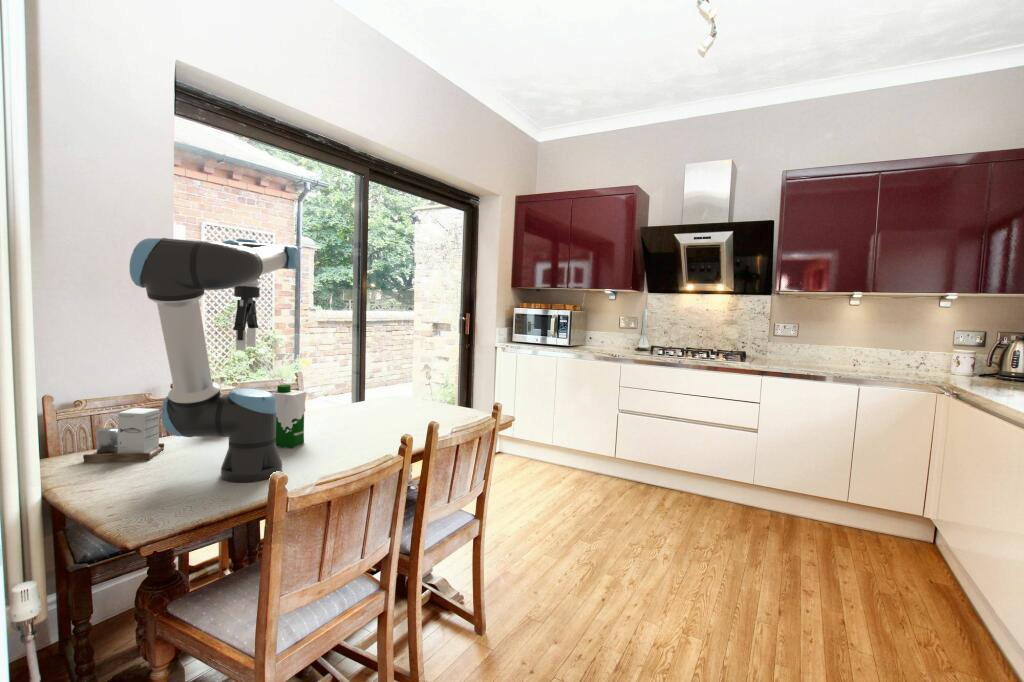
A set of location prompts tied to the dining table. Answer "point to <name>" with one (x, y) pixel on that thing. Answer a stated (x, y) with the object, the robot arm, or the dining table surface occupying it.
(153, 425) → the supplement box
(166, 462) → the dining table surface
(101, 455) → the wooden tray
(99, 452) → the grey rounded cube
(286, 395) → the milk carton
